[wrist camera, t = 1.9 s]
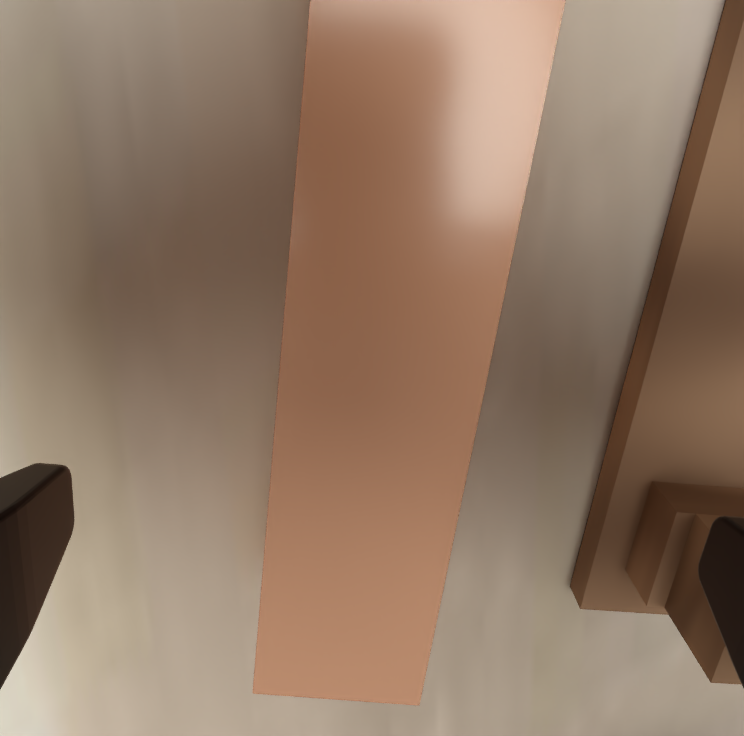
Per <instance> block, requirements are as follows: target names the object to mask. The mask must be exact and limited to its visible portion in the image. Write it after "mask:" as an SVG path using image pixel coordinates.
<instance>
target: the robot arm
mask: <svg viewBox="0 0 744 736" xmlns="http://www.w3.org/2000/svg"><path fill="white" fill-rule="evenodd" d="M73 527H74V506H73V491H72V478H71V473H70V470H69V469H68V467H66V466H64V465H58V464H45V463H36V464H33V465H30V466H28V467H25V468H23V469H20V470H18V471H16V472H13V473H11V474H8V475H6V476H4V477H1V478H0V689H1V687H2V685H3V684H4V682H5V680H6V678H7V676H8V675H9V673H10V671H11V669H12V667H13V666H14V664H15V662H16V660H17V658H18V656H19V655H20V653H21V651H22V649H23V647H24V645H25V643H26V641H27V639H28V638H29V636H30V633H31V631H32V629H33V627H34V624H35V622H36V620H37V618H38V615H39V613H40V610H41V608H42V606H43V603H44V601H45V598H46V596H47V593H48V591H49V589H50V586H51V584H52V581H53V579H54V577H55V574H56V572H57V569H58V567H59V564H60V562H61V560H62V557H63V555H64V552H65V550H66V547H67V545H68V543H69V540H70V538H71V535H72V531H73ZM698 576H699V580H700V583H701V586H702V588H703V591H704V593H705V596H706V598H707V601H708V603H709V606H710V608H711V611H712V613H713V616H714V619H715V621H716V624H717V626H718V629H719V631H720V634H721V636H722V639H723V641H724V644H725V646H726V649H727V651H728V654H729V656H730V659H731V661H732V664H733V666H734V668H735V670H736V673H737V675H738V677H739V680H740V682H741V684H742V686H743V688H744V517H736V516H720V517H718V518H716V519H715V520H714V521H713V523H712V525H711V528H710V531H709V534H708V536H707V539H706V542H705V545H704V548H703V551H702V554H701V557H700V560H699V564H698Z"/></svg>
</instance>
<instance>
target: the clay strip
mask: <svg viewBox="0 0 744 736" xmlns="http://www.w3.org/2000/svg"><path fill="white" fill-rule="evenodd" d="M565 1H566V0H310V7H309V19H308V31H307V44H306V56H305V68H304V80H303V92H302V104H301V116H300V128H299V140H298V152H297V164H296V176H295V188H294V200H293V212H292V224H291V236H290V248H289V260H288V273H287V285H286V297H285V309H284V321H283V333H282V345H281V357H280V369H279V381H278V393H277V405H276V417H275V429H274V441H273V453H272V465H271V477H270V489H269V502H268V514H267V526H266V538H265V550H264V562H263V574H262V586H261V598H260V610H259V622H258V634H257V646H256V658H255V670H254V682H253V693H254V694H268V695H282V696H296V697H309V698H323V699H337V700H351V701H364V702H378V703H392V704H406V705H419V704H420V699H421V694H422V690H423V685H424V680H425V675H426V670H427V666H428V661H429V656H430V651H431V646H432V641H433V637H434V632H435V627H436V622H437V617H438V613H439V608H440V603H441V598H442V593H443V588H444V584H445V579H446V574H447V569H448V564H449V560H450V555H451V550H452V545H453V540H454V535H455V531H456V526H457V521H458V516H459V511H460V507H461V502H462V497H463V492H464V487H465V482H466V478H467V473H468V468H469V463H470V458H471V454H472V449H473V444H474V439H475V434H476V429H477V425H478V420H479V415H480V410H481V405H482V401H483V396H484V391H485V386H486V381H487V376H488V372H489V367H490V362H491V357H492V352H493V348H494V343H495V338H496V333H497V328H498V323H499V319H500V314H501V309H502V304H503V299H504V295H505V290H506V285H507V280H508V275H509V270H510V266H511V261H512V256H513V251H514V246H515V242H516V237H517V232H518V227H519V222H520V217H521V213H522V208H523V203H524V198H525V193H526V189H527V184H528V179H529V174H530V169H531V164H532V160H533V155H534V150H535V145H536V140H537V136H538V131H539V126H540V121H541V116H542V111H543V107H544V102H545V97H546V92H547V87H548V83H549V78H550V73H551V68H552V63H553V58H554V54H555V49H556V44H557V39H558V34H559V30H560V25H561V20H562V15H563V10H564V5H565Z"/></svg>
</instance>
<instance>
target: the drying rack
mask: <svg viewBox="0 0 744 736" xmlns="http://www.w3.org/2000/svg"><path fill="white" fill-rule="evenodd" d="M720 516H736V517H744V0H726V2H725V6H724V10H723V13H722V17H721V21H720V25H719V28H718V32H717V36H716V40H715V43H714V47H713V51H712V55H711V58H710V62H709V66H708V70H707V73H706V77H705V81H704V85H703V88H702V92H701V96H700V100H699V104H698V107H697V111H696V115H695V119H694V122H693V126H692V130H691V134H690V137H689V141H688V145H687V149H686V152H685V156H684V160H683V164H682V167H681V171H680V175H679V179H678V182H677V186H676V190H675V194H674V198H673V201H672V205H671V209H670V213H669V216H668V220H667V224H666V228H665V231H664V235H663V239H662V243H661V246H660V250H659V254H658V258H657V261H656V265H655V269H654V273H653V276H652V280H651V284H650V288H649V291H648V295H647V299H646V303H645V307H644V310H643V314H642V318H641V322H640V325H639V329H638V333H637V337H636V340H635V344H634V348H633V352H632V355H631V359H630V363H629V367H628V370H627V374H626V378H625V382H624V385H623V389H622V393H621V397H620V401H619V404H618V408H617V412H616V416H615V419H614V423H613V427H612V431H611V434H610V438H609V442H608V446H607V449H606V453H605V457H604V461H603V464H602V468H601V472H600V476H599V479H598V483H597V487H596V491H595V495H594V498H593V502H592V506H591V510H590V513H589V517H588V521H587V525H586V528H585V532H584V536H583V540H582V543H581V547H580V551H579V555H578V558H577V562H576V566H575V570H574V573H573V577H572V581H571V585H570V587H571V589H572V591H573V594H574V596H575V598H576V600H577V603H578V605H579V607H580V609H590V610H606V611H621V612H636V613H651V614H666V615H669V616H670V617H671V619H672V621H673V622H674V624H675V625H676V627H677V629H678V630H679V632H680V634H681V635H682V637H683V638H684V640H685V642H686V643H687V645H688V646H689V648H690V650H691V651H692V653H693V655H694V656H695V658H696V659H697V661H698V663H699V664H700V666H701V667H702V669H703V671H704V672H705V674H706V675H707V677H708V679H709V680H710V682H711V683H727V684H741V682H740V680H739V677H738V675H737V673H736V670H735V668H734V666H733V664H732V661H731V659H730V656H729V654H728V651H727V649H726V646H725V644H724V641H723V639H722V636H721V634H720V631H719V629H718V626H717V624H716V621H715V619H714V616H713V613H712V611H711V608H710V606H709V603H708V601H707V598H706V596H705V593H704V591H703V588H702V586H701V583H700V580H699V576H698V564H699V560H700V557H701V554H702V551H703V548H704V545H705V542H706V539H707V536H708V534H709V531H710V528H711V525H712V523H713V521H714V520H715V519H716V518H718V517H720Z"/></svg>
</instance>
